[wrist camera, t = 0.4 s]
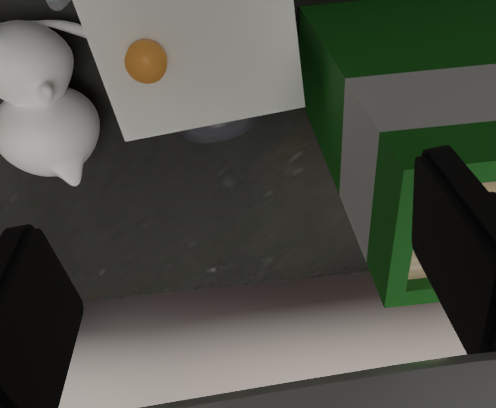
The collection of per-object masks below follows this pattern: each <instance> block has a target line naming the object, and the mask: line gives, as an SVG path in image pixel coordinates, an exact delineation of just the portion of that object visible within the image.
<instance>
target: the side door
mask: <svg viewBox="0 0 496 408" xmlns="http://www.w3.org/2000/svg"><path fill="white" fill-rule="evenodd" d="M70 1H71V0H46V2H47V4H48V6H49V7H50V8H51V9H53V10H55V11H60V10H62V9H63V8H64V7H65V6H66V5H67V4H68V3H69V2H70Z"/></svg>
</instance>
